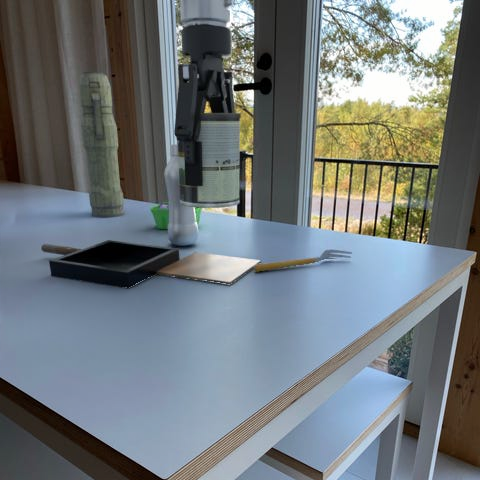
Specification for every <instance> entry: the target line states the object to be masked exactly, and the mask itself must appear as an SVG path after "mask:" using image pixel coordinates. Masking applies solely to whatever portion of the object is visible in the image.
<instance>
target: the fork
mask: <svg viewBox="0 0 480 480" xmlns="http://www.w3.org/2000/svg"><path fill="white" fill-rule="evenodd" d="M346 254H347V255H346ZM350 255H353V252H352V251H347V250H339V249H331V248H328V249H325V250H324V251H323V252H322V253H321V254H320V255H319V256H318V257H317V256H316V257H307V258H298V259H291V260H290V259H289V260H281V261H272V262H264V263H261V264H256V265H255V266H254V269H253V271H254V272H255V271H256V272H255V273H260V272H259V271H263V272H266V271H265V270H269V271H272V270H271V269H275V270H278V269H277V268H281V269H285V268H284V267H287V268H291V267H290V266H293V267H297V266H296V265H299V266H305V265H311V264H310V263H312V264H316V263H315V262H318V263H320V262H319V261H321V260H324V259H337V258H344V259H346V258H347V259H351V258H352V256H350ZM304 264H305V265H304Z"/></svg>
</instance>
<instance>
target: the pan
mask: <svg viewBox="0 0 480 480" xmlns="http://www.w3.org/2000/svg"><path fill="white" fill-rule="evenodd" d="M40 249H41V251H42V252H43V253H45V254H46V253H47V254H53V255H60V256H58V257H55V258H52V259H49V260H48V264H49V270H50V276H51V277H55V276H56V278H61V277H62V278H61V279H67V278H69V279H68V280H73V279H76V280H75V281H79V280H82V282H85V281H87V283H92V282H94V283H93V284H98V285H104V284H105V286H110V285H111V286H110V287H116V286H118V287H117V288H122V287H127V288H126V289H128V288H129V287H131V286H133V285H135V284H136V283H138V282H140V281H142V280H144V279H147V278H148V277H151V276H153V275H155V274H157V273H156V272H157V271H158V270H160V269H162V268H164V267H166V266H168V265H170V264H172V263H174V262H176V261H178V260H180V248H175V247H168V246H160V245H159V246H158V245H151V244H142V243H135V242H129V241H128V242H126V241H120V240H119V241H118V240H111V239H108V240H105V241H101V242H99V243H96V244H93V245H90V246H87V247H85V248H79V247H71V246H64V245H55V244H49V243H44V244H42V245H41V247H40ZM155 276H156V275H155ZM153 277H154V276H153ZM151 278H152V277H151ZM147 280H148V279H147ZM135 286H136V285H135ZM133 287H134V286H133ZM131 288H132V287H131ZM129 289H130V288H129Z"/></svg>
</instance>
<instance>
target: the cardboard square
mask: <svg viewBox="0 0 480 480" xmlns="http://www.w3.org/2000/svg"><path fill="white" fill-rule="evenodd" d="M259 263H261V264H262V260H260V259H254V258H253V259H252V258H245V257H239V256H238V257H237V256H229V255H223V254H222V255H221V254H213V253H206V252H197V251H195V252H192V253H190V254H188V255H187V256H184V257H182V258H179V260H178V261H176V262H174V263H172V264H170V265H168V266H166V267H164V268H162V269H160V270H158V271H157V272H156V273H157V274H160V275H159V276H163V275H167V276H166V277H169V276H175V277H174V278H176V277H182V278H181V279H183V278H189V279H197V280H207V281H214V282H220V283H226V284H231V283H233V282H234V281H235V280H237V279H238V278H240V277H241V276H243V275H244V274H245V273H247V272H248V271H250V270H251V269H252V268H254V266H255V265H256V264H259ZM252 270H253V269H252ZM252 270H251V271H252ZM251 271H250V272H251ZM248 273H249V272H248ZM248 273H247V274H248ZM245 275H246V274H245ZM245 275H244V276H245ZM244 276H243V277H244ZM241 278H242V277H241ZM241 278H240V279H241ZM189 279H188V280H189ZM238 280H239V279H238ZM238 280H237V281H238ZM234 283H235V282H234ZM234 283H233V284H234Z"/></svg>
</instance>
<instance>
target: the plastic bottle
mask: <svg viewBox="0 0 480 480" xmlns="http://www.w3.org/2000/svg"><path fill="white" fill-rule="evenodd" d="M169 156H170V159H169V161H168V162H167V164H166V166H165V168H164V171H163V172H164V173H163V176H164V179H165V180H164V181H165V187H166V191H167V192H168V195H167V200H168V202H169V224H168V229H167V237H168V240H169V242H170V243H171V244H172V245H174V246H182V247H185V246H189V245H194V244H196V243H197V241H198V240H199V234H200V231H199V224H198V225H197V222H196V213H195V207H188V206H184V205H182V204H180V183H179V160H178V144H170V145H169Z"/></svg>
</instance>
